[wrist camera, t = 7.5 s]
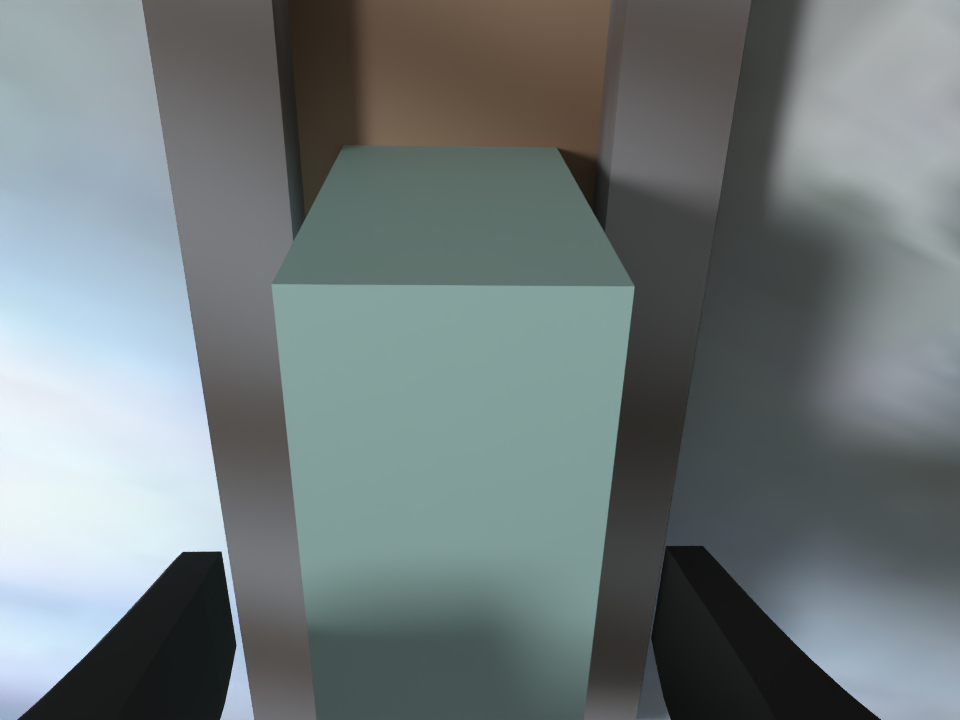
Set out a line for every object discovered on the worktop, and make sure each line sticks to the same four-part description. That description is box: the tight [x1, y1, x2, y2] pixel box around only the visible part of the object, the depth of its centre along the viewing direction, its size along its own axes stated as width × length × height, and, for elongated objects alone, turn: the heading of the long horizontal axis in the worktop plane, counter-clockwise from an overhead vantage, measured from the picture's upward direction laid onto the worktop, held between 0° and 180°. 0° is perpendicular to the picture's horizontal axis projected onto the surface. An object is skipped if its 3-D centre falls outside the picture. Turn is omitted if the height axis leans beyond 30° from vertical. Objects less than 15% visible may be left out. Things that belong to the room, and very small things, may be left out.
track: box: [142, 0, 751, 720], centre depth 17 cm, size 20×10×2 cm, turn 179°
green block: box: [271, 145, 635, 720], centre depth 15 cm, size 12×4×7 cm, turn 179°
